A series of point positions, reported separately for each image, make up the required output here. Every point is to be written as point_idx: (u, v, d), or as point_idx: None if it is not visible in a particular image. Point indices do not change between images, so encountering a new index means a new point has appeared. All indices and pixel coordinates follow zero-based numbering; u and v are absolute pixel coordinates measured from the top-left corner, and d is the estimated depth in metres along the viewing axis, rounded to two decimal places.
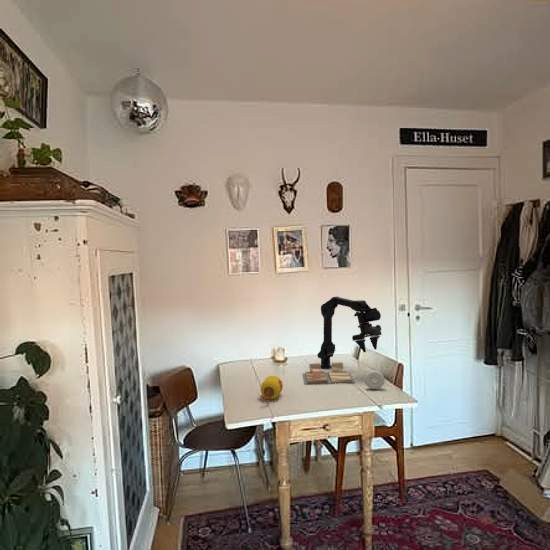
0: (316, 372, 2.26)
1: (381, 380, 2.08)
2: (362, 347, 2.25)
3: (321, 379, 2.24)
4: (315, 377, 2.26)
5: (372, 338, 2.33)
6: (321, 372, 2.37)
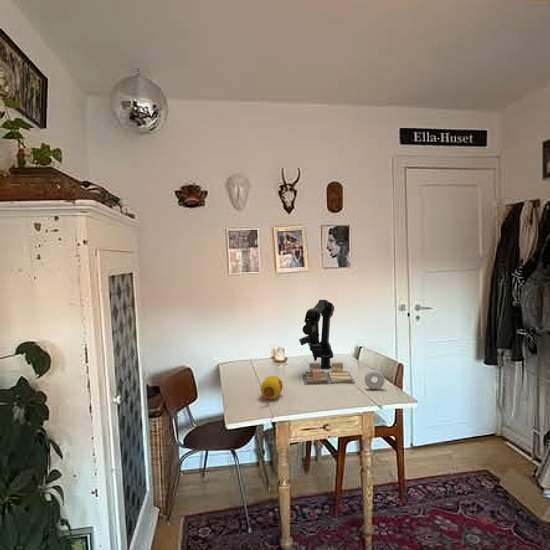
0: (316, 372, 2.26)
1: (381, 380, 2.08)
2: None
3: (321, 379, 2.24)
4: (315, 377, 2.26)
5: None
6: (321, 372, 2.37)
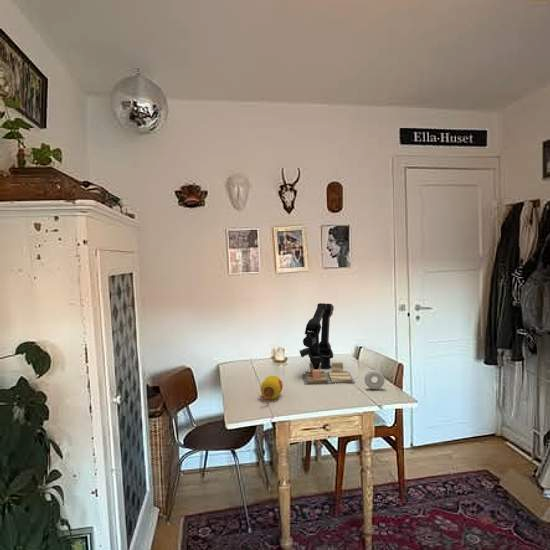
0: (316, 372, 2.26)
1: (381, 380, 2.08)
2: None
3: (321, 379, 2.24)
4: (315, 377, 2.26)
5: None
6: (321, 372, 2.37)
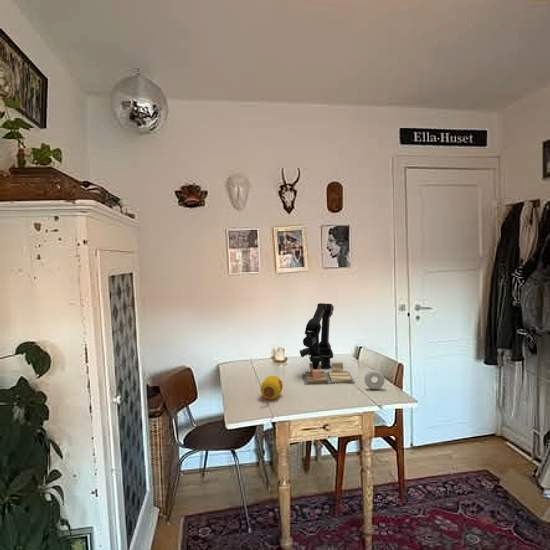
0: (316, 372, 2.26)
1: (381, 380, 2.08)
2: None
3: (321, 379, 2.24)
4: (315, 377, 2.26)
5: None
6: (321, 372, 2.37)
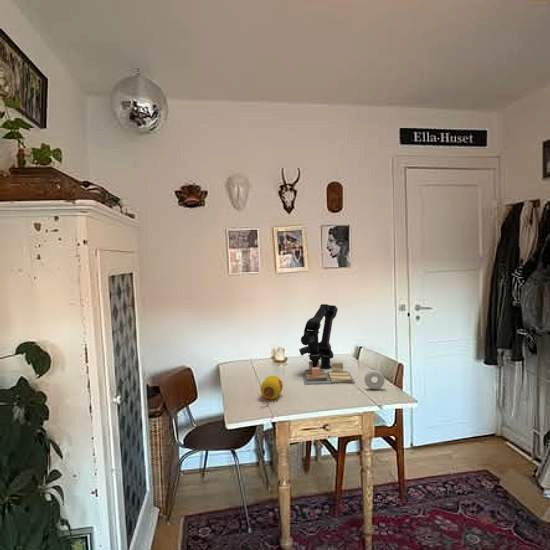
0: (315, 369, 2.30)
1: (381, 380, 2.08)
2: None
3: (320, 377, 2.28)
4: (314, 375, 2.30)
5: None
6: (320, 370, 2.42)
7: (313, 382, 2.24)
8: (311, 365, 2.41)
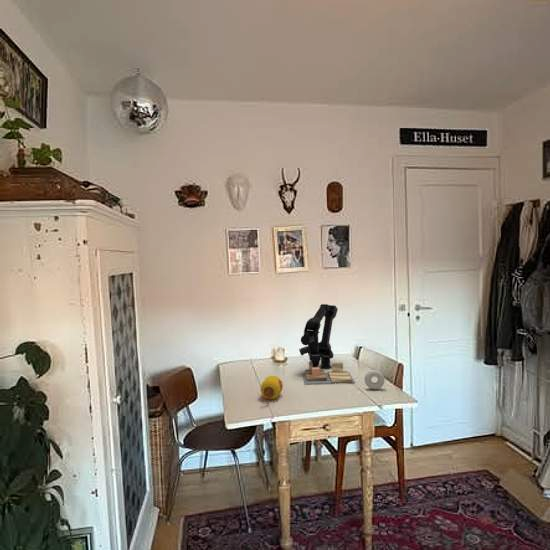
0: (315, 369, 2.30)
1: (381, 380, 2.08)
2: None
3: (320, 377, 2.28)
4: (314, 375, 2.30)
5: None
6: (320, 370, 2.42)
7: (313, 382, 2.24)
8: (311, 365, 2.41)
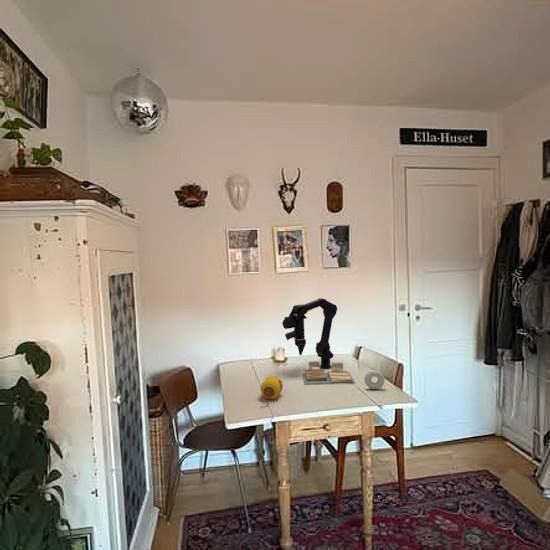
0: (315, 369, 2.30)
1: (381, 380, 2.08)
2: None
3: (320, 377, 2.28)
4: (314, 375, 2.30)
5: None
6: (320, 370, 2.42)
7: (313, 382, 2.24)
8: (311, 365, 2.41)
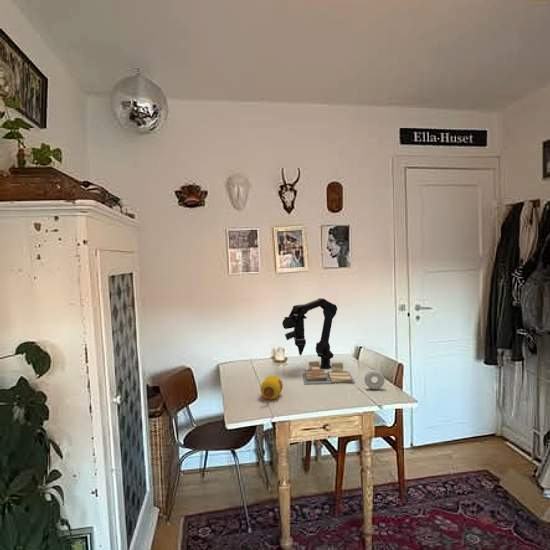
0: (315, 369, 2.30)
1: (381, 380, 2.08)
2: None
3: (320, 377, 2.28)
4: (314, 375, 2.30)
5: None
6: (320, 370, 2.42)
7: (313, 382, 2.24)
8: (311, 365, 2.41)
